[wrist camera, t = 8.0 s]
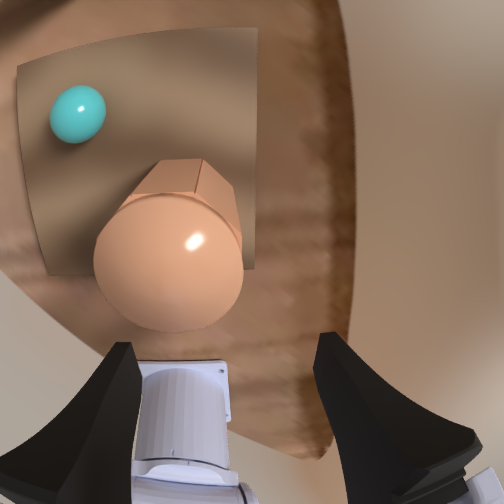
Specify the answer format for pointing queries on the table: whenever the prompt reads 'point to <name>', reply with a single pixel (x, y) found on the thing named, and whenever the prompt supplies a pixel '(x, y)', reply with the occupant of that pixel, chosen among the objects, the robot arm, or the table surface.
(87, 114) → the teal ball
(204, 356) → the table surface
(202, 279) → the faceted octagonal canister
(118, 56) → the walnut board
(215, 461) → the robot arm
